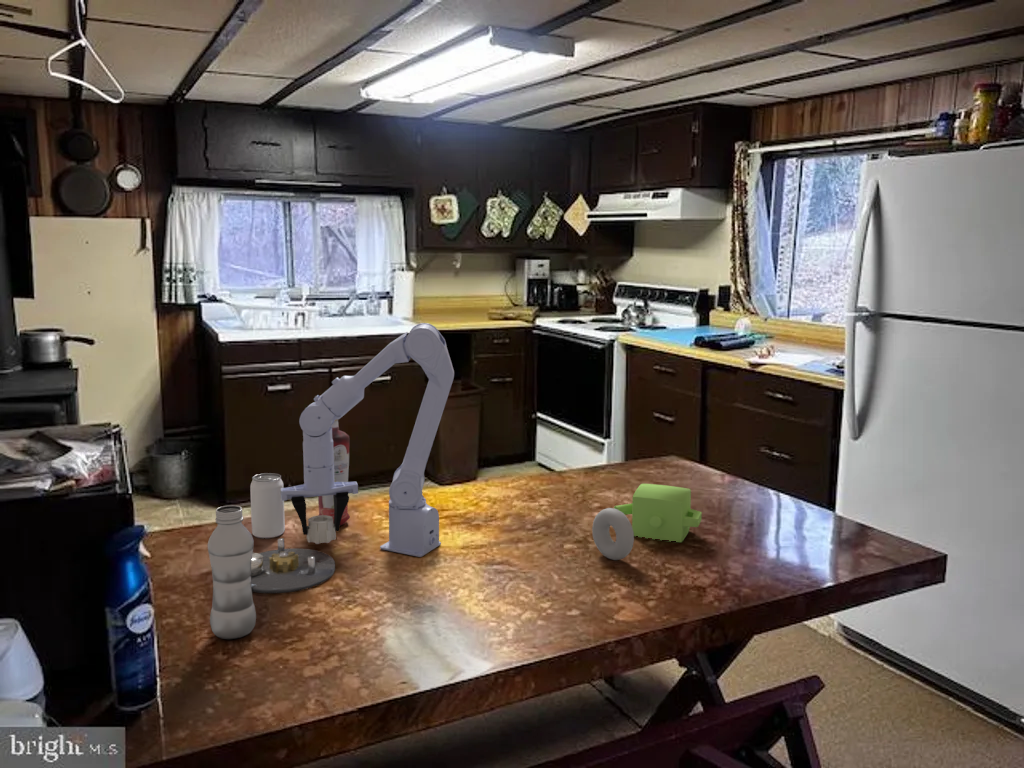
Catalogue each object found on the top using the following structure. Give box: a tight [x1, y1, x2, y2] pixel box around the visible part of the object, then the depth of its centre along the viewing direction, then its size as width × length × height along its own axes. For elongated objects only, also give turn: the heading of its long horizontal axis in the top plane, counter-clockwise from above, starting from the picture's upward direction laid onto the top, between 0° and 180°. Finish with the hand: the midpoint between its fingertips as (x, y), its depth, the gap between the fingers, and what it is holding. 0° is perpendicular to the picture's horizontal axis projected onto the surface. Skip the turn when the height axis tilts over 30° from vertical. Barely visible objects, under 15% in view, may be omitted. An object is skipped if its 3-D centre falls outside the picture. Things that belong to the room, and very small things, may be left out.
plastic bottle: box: [207, 504, 257, 640], centre depth 123 cm, size 6×7×20 cm
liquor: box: [317, 419, 351, 527], centre depth 171 cm, size 7×7×28 cm
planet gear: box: [306, 514, 337, 545], centre depth 160 cm, size 5×5×4 cm
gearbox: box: [613, 483, 703, 543], centre depth 170 cm, size 18×10×10 cm, turn 67°
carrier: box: [250, 537, 336, 594], centre depth 147 cm, size 19×20×4 cm
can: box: [249, 472, 286, 540], centre depth 166 cm, size 6×6×12 cm
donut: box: [591, 507, 635, 561], centre depth 157 cm, size 10×3×10 cm, turn 37°
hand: (321, 531), depth 160 cm, fingers closed on planet gear, 5 cm apart
